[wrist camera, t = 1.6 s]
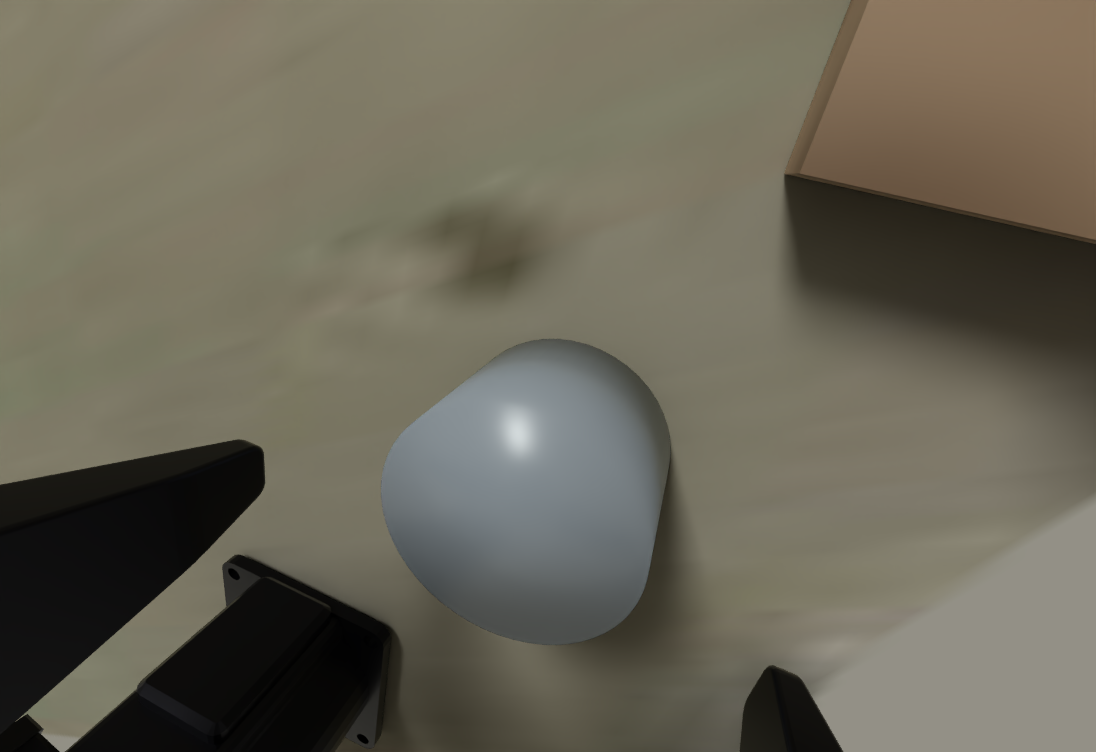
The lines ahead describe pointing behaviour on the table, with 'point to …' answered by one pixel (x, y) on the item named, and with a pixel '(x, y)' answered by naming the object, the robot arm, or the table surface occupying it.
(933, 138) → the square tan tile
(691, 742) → the table surface
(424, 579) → the smooth rounded gray lump
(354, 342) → the table surface
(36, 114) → the table surface
